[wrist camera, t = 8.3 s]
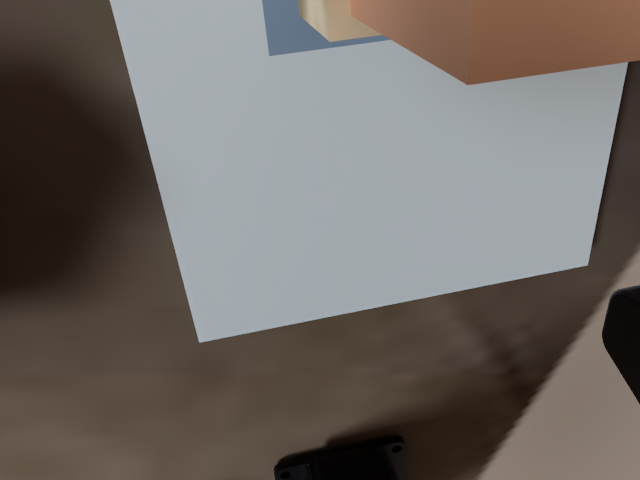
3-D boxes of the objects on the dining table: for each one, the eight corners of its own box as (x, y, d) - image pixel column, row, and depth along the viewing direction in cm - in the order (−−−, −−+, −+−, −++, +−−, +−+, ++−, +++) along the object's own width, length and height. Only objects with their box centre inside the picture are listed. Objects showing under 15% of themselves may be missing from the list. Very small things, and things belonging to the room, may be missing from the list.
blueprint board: (573, 252, 24) (587, 265, 23) (198, 326, 22) (199, 343, 21) (677, -328, 14) (709, -344, 14) (39, -298, 12) (27, -314, 11)
